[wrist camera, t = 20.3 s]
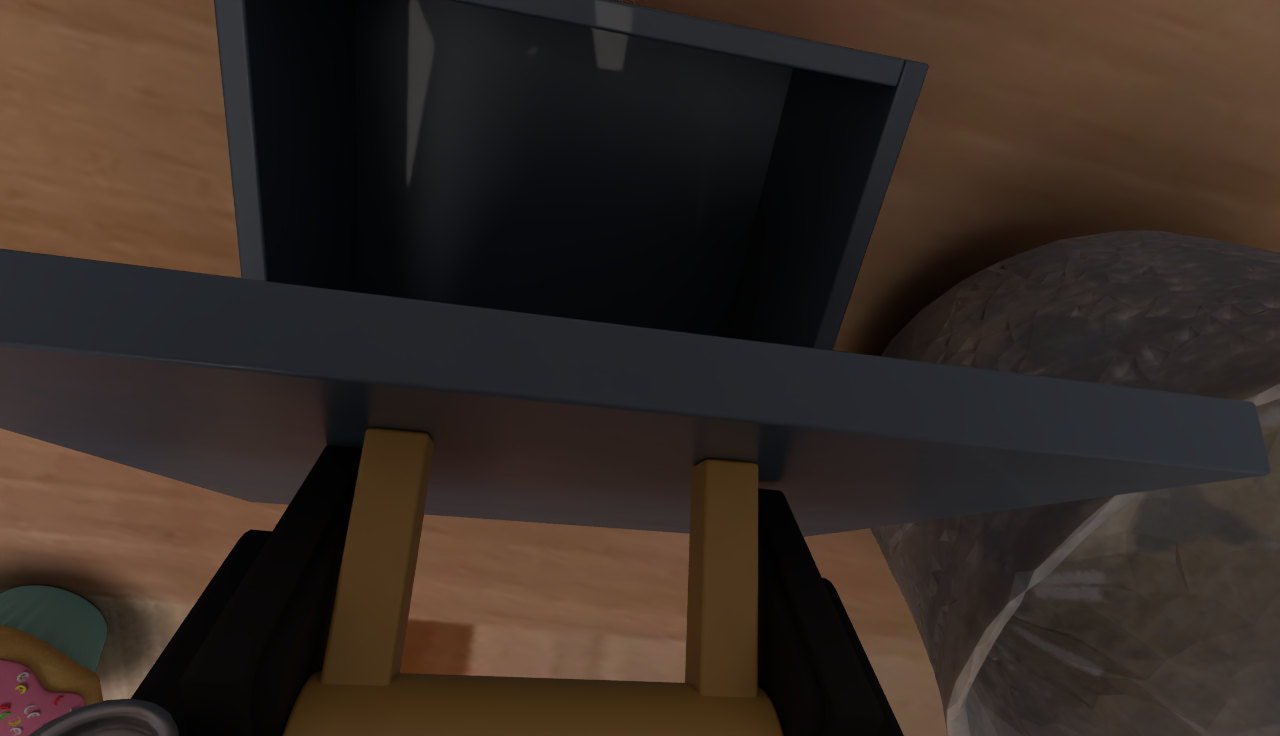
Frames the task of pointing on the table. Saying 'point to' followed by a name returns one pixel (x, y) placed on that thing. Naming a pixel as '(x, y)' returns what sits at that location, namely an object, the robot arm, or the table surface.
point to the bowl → (1109, 505)
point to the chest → (560, 159)
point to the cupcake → (47, 656)
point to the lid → (556, 456)
